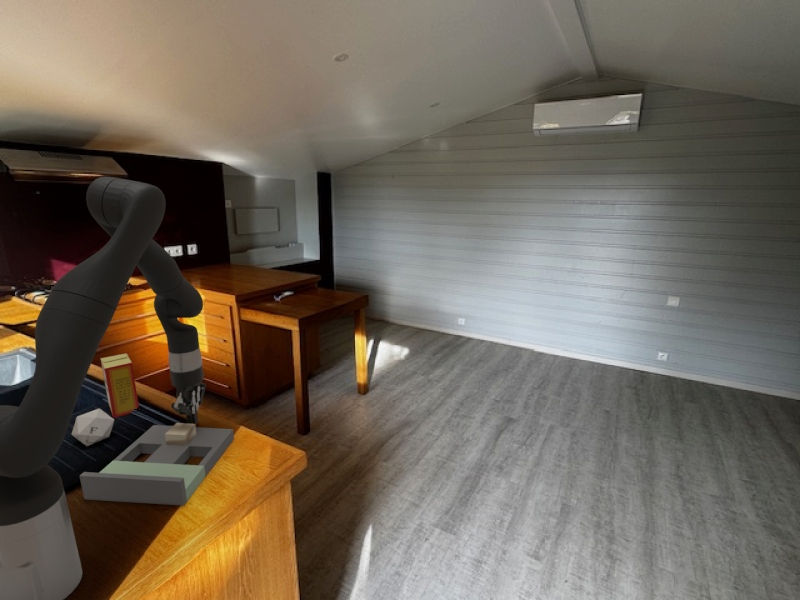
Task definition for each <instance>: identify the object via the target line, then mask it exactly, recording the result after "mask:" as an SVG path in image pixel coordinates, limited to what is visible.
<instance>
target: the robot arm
mask: <svg viewBox="0 0 800 600" xmlns="http://www.w3.org/2000/svg"><path fill="white" fill-rule="evenodd" d="M85 197H86V198H85V200H86V206H87V209H88V211H89V213H90V215H91V216H92V218H93V219H94V220H95V221H96V223H97V224H98V225H99V226H100V227H101V228H102V229H103V231H105V232H106V233H107V234H108V235H109V236H110V239H109V241H107V242H106V244H105V245H104V246H103V247H102V248H100V250H98V251H97V252H96V253H94V254H92V255H91V256H90V257H88V258H86V259H85V260H83V261H81V262H80V263H79V264H77V265H76V266H75V267H73V268H72V269H70V270H68V271H67V272H66V273H65V274H64V275H62V276H61V277H60V278H59V279H58V280H57V281H56V283H54V286H53V287H52V289H51V291H50V292H49V294H48V296H47V298H46V299H45V302H44V304H43V306H42V307H41V309H40V311H39V314H38V316H37V318H36V322H35V327H34V328H35V329H34V342H35V343H34V344H35V367H34V373H33V376H32V380H31V382H30V385H29V386H28V389H27V391H26V393H25V394H24V397H23V399H22V401H21V402H20V404H19V406H14V405H9V404H8V405H6V404H4V405H3V404H2V405H1V404H0V600H65V599H66V598H68V597H69V595H71V594H72V593H73V592H74V591H75V589H76V588H77V587H78V586H79V584H80V582H81V580H82V577H83V569H82V568H83V567H82V563H81V559H80V554H79V550H78V545H77V542H76V538H75V537H76V536H75V533H74V527H73V523H72V519H71V515H70V510H69V506H68V501H67V496H66V492H65V488H64V483H63V481H62V477H61V475H60V474H59V472H57V470H55V469H53V468H52V467H51V466H50V465H48V464H49V463H50V462H51V460H52V459H53V458H54V457H55V456H56V455H57V453H58V451H59V450H60V448H61V446H62V443H63V441H64V439H65V437H66V434H67V431H68V428H69V425H70V422H71V419H72V416H73V413H74V410H75V407H76V404H77V401H78V398H79V395H80V391H81V389H82V386H83V384H84V381H85V379H86V376H87V374H88V372H89V370H90V367H91V364H92V362H93V360H94V358H95V355H96V352H97V351H98V348H99V346H100V344H101V341H102V340H103V338H104V335H105V334H106V333H107V330H108V328H109V326H110V325H111V321H112V320H113V318H114V315H115V313H116V311H117V308H118V306H119V303H120V302H121V301H120V300H121V298H122V296H123V294H124V291H125V290H126V287H127V285H128V283H129V282H130V279H131V277H132V275H133V273H134V271H135V269H136V267H137V268H138V269H139V271H140V272H141V274H142V276H143V277H144V279H145V281H146V283H147V284H148V286H149V287H150V289H151V291H152V293H154V294H155V297H154V301H153V307H154V308H153V309H154V311H155V314H156V316H157V319H158V320H159V321H160V325H161V326H162V329H163V331H164V333H165V336H166V342H167V349H168V350H167V351H168V356H167V357H168V365H169V375H170V381H171V383H170V384H171V385H172V386H173V387H175V389H176V395H175V396H176V397H177V399H176V401H175V402H172V403H171V404H170V407H171V409H173V410H174V411H175V412H176V413H178V414H179V415H181V416H185V417H186V424H195V426H196V425H197V424H198V423H199V419H198V418H199V417H198V415H199V414H198V411H199V407H200V406H201V405H202V403H203V398H204V396H205V391H206V387H207V383H203V380H204V378H205V377H204V376H205V375H204V369H203V367H204V366H203V357H202V352H201V349H200V342H199V331H198V328H197V327H196V326H194V325H192V324H188V323H185V322H181V321H180V320H179V319H190V318H191V319H192V318H196V317H198V316H199V315H200V314H201V312H202V310H203V308H204V302H203V301H204V300H203V297H202V295H201V294H200V292H199V290H198V289H197V288H196V287H194V285H192V284H191V283H190V282H189V281H188V280H187V279H186V278H185V277H184V276H183V274H182V272H181V270H180V267H179V266H178V264H177V262H176V260H175V259H174V258H173V256H172V255H171V253H169V252H168V251H167V250H166V249H165V248H163V247H162V246H161V245H160V244H159V243H157V241H155V240H154V239H153V238H154V237H155V235H156V233H157V232H158V229H159V228H160V226H161V224H162V222H163V219H164V216H165V213H166V204H167V203H166V198H165V194H164V193H163V191H162V190H161V189H160V188H159V187H158V186H156V185H152V184H150V183H146V182H142V181H137V180H131V179H125V178H121V177H113V176H112V177H111V176H100V177H98V178H95V179H94V180H93V181H91V183H90V184H89V186H88V188H87V191H86V196H85Z"/></svg>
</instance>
